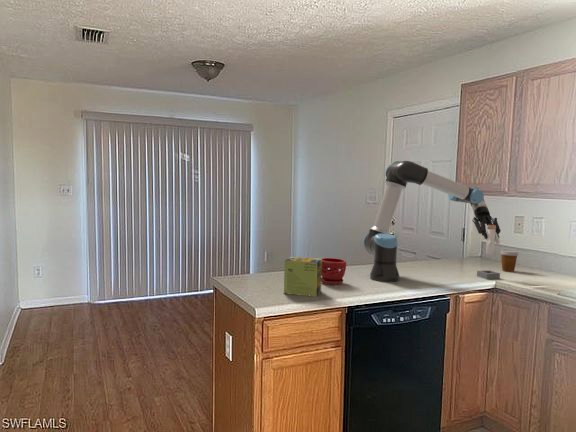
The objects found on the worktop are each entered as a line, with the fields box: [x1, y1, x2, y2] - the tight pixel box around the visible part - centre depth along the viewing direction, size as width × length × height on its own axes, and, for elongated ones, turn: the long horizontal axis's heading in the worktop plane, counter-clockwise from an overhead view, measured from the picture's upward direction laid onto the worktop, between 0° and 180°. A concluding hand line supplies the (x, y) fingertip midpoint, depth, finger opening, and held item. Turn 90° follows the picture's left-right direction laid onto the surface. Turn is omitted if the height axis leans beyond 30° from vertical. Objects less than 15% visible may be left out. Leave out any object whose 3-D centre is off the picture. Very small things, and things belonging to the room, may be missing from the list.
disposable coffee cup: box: [500, 249, 519, 273], centre depth 262 cm, size 10×10×12 cm
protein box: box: [283, 256, 322, 297], centre depth 201 cm, size 10×15×16 cm
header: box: [476, 269, 501, 280], centre depth 238 cm, size 8×8×4 cm
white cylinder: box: [485, 225, 496, 256], centre depth 237 cm, size 4×4×16 cm
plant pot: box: [321, 257, 347, 286], centre depth 222 cm, size 13×13×12 cm
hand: (494, 243), depth 233 cm, fingers closed on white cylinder, 4 cm apart
